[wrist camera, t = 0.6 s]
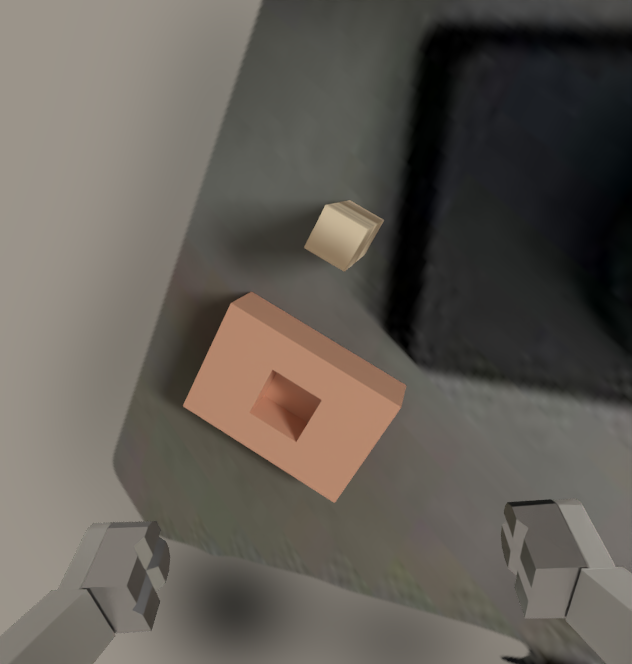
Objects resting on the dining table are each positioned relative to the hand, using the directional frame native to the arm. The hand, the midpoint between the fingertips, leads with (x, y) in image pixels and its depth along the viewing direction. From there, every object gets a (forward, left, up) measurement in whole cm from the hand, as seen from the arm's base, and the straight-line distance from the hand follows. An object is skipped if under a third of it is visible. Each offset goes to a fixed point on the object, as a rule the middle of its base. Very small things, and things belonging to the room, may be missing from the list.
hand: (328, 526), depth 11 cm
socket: (+19, -5, -40) cm, 45 cm away
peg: (0, -8, -40) cm, 41 cm away
